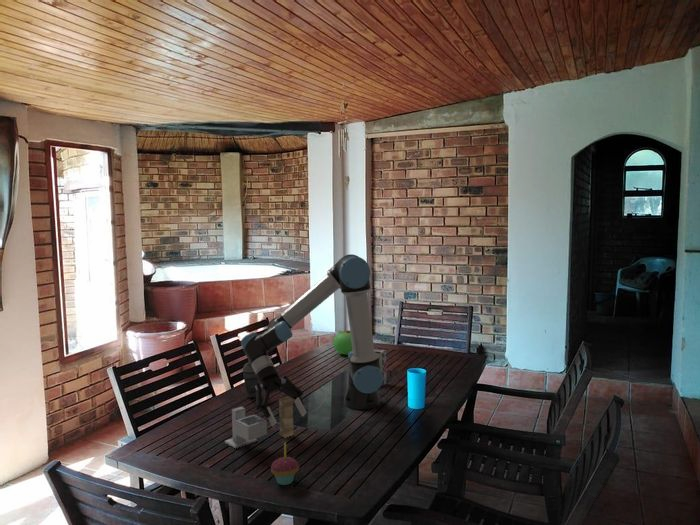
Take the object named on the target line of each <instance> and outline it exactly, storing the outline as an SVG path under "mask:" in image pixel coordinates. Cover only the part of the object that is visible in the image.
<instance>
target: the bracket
mask: <svg viewBox="0 0 700 525" xmlns="http://www.w3.org/2000/svg"><path fill="white" fill-rule="evenodd" d="M231 422H232V425H231V428H232V437H231V438H229V439H226V440H224V444H226V445H227V444H228V445H227V446H229V447H231V446H232V447H233V449H234V448H235V450H236V448H237V449H239V447H240V448H242V446H243V447H245V445H246V446H248V445H251V444H254V443H256V441H257V442H258V438H261V437H264V436H267V435H268V420H266V419H265V418H263V417H261V416H258V415H257V414H252V415H247V416H246V408H245V407H244V406H239V407H235V408H232V409H231ZM232 447H231V448H232Z"/></svg>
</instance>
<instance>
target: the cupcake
mask: <svg viewBox="0 0 700 525" xmlns="http://www.w3.org/2000/svg"><path fill="white" fill-rule="evenodd" d="M299 470H300V464H299V462H298V461H297V460H296V459H295V458H293V457H290V456H287V443H286V442H284V443H283V456H281V457H279V458H276V459H275V460H274V461H273V462H272V464H271V465H270V472H271V473H272V475H274V477H275V480H276V483H277V484H278V485H282V486H286V485H287V486H289V485H291V484H292V483H293V481H294V477H295V475H296V474H297V472H298V471H299Z"/></svg>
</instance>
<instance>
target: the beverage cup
mask: <svg viewBox="0 0 700 525" xmlns="http://www.w3.org/2000/svg"><path fill="white" fill-rule="evenodd" d="M247 361H248V362H246V363H245V364H244V365H243V368H242V371H241V372H242V374H243V381H244V389H245V397H246V398H247V397H249V399H252V398H251V397H254V398H256V397H255V396H256V391H255V388H254V387H255V386H256V384H257V383H259V380H258V378H257V374H255V372H254V370H253V368H252V366H251V364H250V362H249V360H248V359H247Z"/></svg>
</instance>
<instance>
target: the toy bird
mask: <svg viewBox="0 0 700 525" xmlns="http://www.w3.org/2000/svg"><path fill="white" fill-rule="evenodd" d="M332 344H333V347H334V349H335V351H337V353H339V354H341V355H345V356H348V353H349V352H350V351H353V349H352V341H351V334H350V329H346V330H343V331H342V330H337V334H336V335H334V339H333V343H332Z"/></svg>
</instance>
